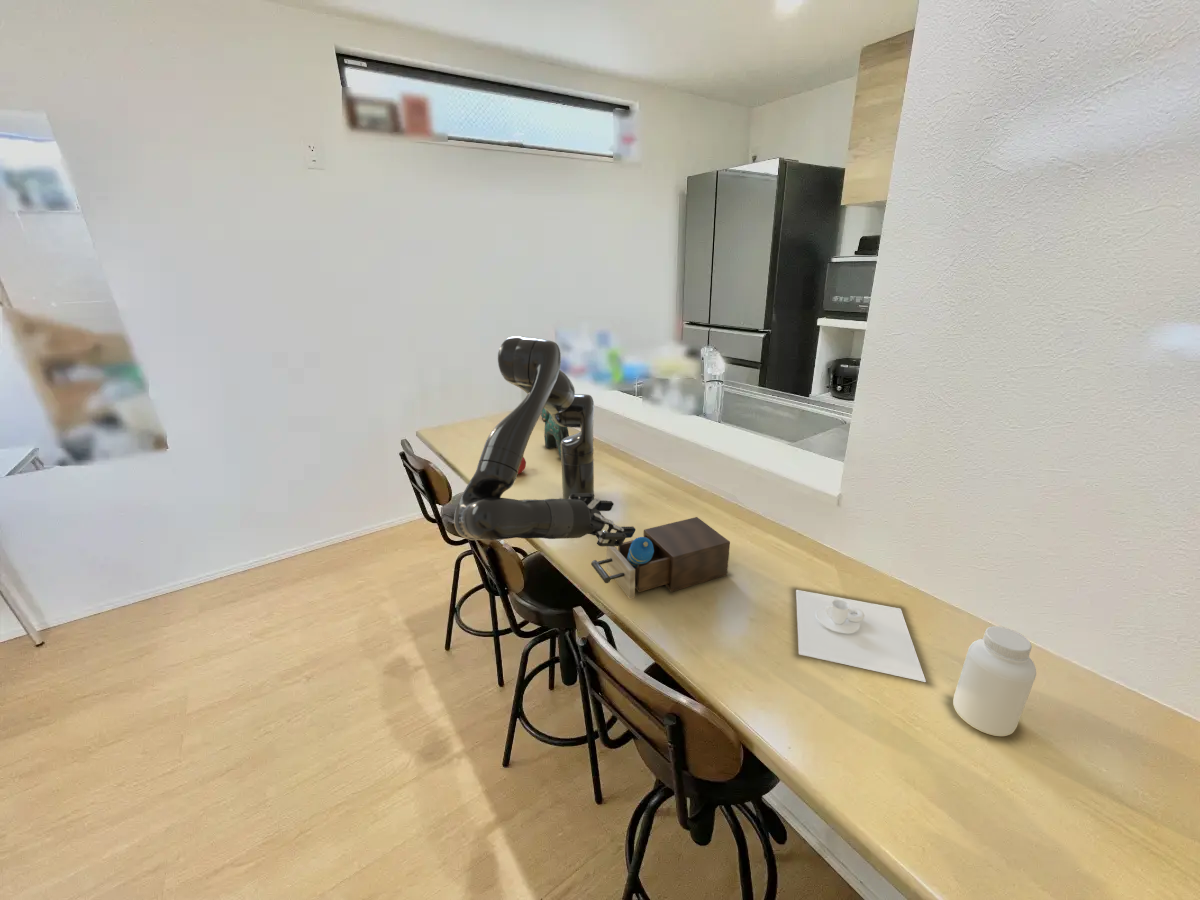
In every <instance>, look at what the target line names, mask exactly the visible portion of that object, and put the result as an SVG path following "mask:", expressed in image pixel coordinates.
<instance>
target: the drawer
mask: <svg viewBox="0 0 1200 900" xmlns="http://www.w3.org/2000/svg"><path fill="white" fill-rule="evenodd" d="M646 538H648V539H649V540H650V541H651V542H652V544H653V548H654V553H653V556H652V558H651V560H650V561H648V562H647V563H644V564H640V565H638V567H636V568H633V566H632V565H631V564H630V563H629V562H628V561H627V557H628V553H629V549H630V547H631V543H632V542H633V540H634V539H632V540H628V541H624V542H623V544H622V545H621V546H606V558H605V559H603V560H596V559H594V560H592V561H591V563H590V566H591V567H592V568H593V569H594V571H595V572H596V573H597V575H598V576H599V577H600V578H601V579H602V581H603V583H604V584H609V583H611V581H613V580H614V581H615V582H616V583H617V585H618V586H619V587H620V589H621V590H622V591H623V593H624V594H625V595H626V596H627V597H628V599H634V598H635V597H636V591H637V592H638V593H640V592H644V591H648V590H651V589H654V588H657V587H661V586H665V584H668V583H670V567H671V558H670V557H669V556H668V555H667V554H666V553H664V552H663V551H662V550H661V549H660V548H659V547H658V546H657V545H656V544H655V543H654V542H653V541H652V540H651V539H650V538H649V537H646ZM617 547H618V548H617ZM604 564H606V570H605V568H604V567H602V565H604ZM606 571H607V572H606ZM608 573H609V574H608Z"/></svg>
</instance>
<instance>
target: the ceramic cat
mask: <svg viewBox="0 0 1200 900" xmlns="http://www.w3.org/2000/svg"><path fill="white" fill-rule="evenodd" d="M540 420H541V421H542V422H543V423H544V434H543V436H544V438H543V439H544V447H545V448H547V449H554V448H557V446H556V442H557V445H558V449H557V451H558V457H559V460H560V461H561V441H562V440H563V439H564V438H566V437H568V436H570V433H569V427H562V426H559V425H558V424H557V423H556V422H555V421H554V419H553V418H552V416H551V414H550V413H549V412H548V411H547V410H546V409H543V411H542V413H541V415H540Z"/></svg>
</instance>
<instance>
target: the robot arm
mask: <svg viewBox="0 0 1200 900" xmlns="http://www.w3.org/2000/svg"><path fill="white" fill-rule="evenodd" d="M561 363H562V353H561V349H560V346H559V344H558V343H557V342H555V341H553V340H551V339H545V338H537V337H531V336H523V335H515V336H510V337H508V338H506V339H505V340H504V341H503V342H502V343H501V344H500V347H499V349H498V352H497V364H498V370H499V372H500V375H501V376H502V378H503V379H504V380H505V381H506V382H507V383H509V384H511V385H513V386H515V387H516V388H519V389H521V390H522V391H523V392H525V393H526V396H525V397H524V398H523V400H522V401H521V402H520V403H519V404H518V405H517V406H516V407H515V408H514V409H513V410H512V411H511V412H510V413H508V414H507V415H506V416H505V417H504V418H503V419H502V420H501V421H499V423H497V425H495V426H494V428H493V429H492V430H491V432H490V433H489V434H488V437H487V438H486V439H485V443H484V445H483V449H482V451H481V454H480V457H479V459H478V463H477V466H476V469H475V471H474V474H473V476H472V478H471V479H470V480H469V482H468V483H467V485H466V487H465V488H464V491H463V492H462V495H461V496H460V498H459V500H458V502H457V504H456V507H455V510H454V515H453V526H454V528H455V531H456V533H457V534H458V535H459V536H460V537H461V538H463V539H466V540H469V541H498V540H510V539H547V540H560V539H561V540H563V539H564V540H565V539H580V538H583V537H584V536H586V535H591V536H595V537H596V539H597V542H596V545H597V546H599V547H607V546H615V547H618V546H621V545H622V544H623V543H624V542H625V540H626V539H631V538H632V537H633V536H634V535H635V532H636V527H634V526H633V525H631V526H619V525H618V524H615V522H614V520H611V519H608V518H606V517H605V516H604V515H603V514H602V513H601V512H610V511H611V510H612V508H613V506H614V505H615V504H614V502H613V501H612V500H606V499H605V500H603V499H599V498H597V497H595V476H594V475H595V474H594V473H595V472H594V465H595V463H594V461H595V460H594V420H595V419H594V417H595V403H594V398H593V397H592V395H591V394H586V393H585V394H584V393H576V390H575V386H574V384H573V382H572V380H571V379H570V378H569V376H568V375H567V374H566V373H565V372H564V371H562V370H561ZM543 409H546V410H547V411H548V412H549V413H550V414H551V416H552V418H553V419H554V421H555V422H556V423H557V424H558V425H559V426H562V427H567V428H577V429H578V428H579V429H580V431H578V432H577V433H575V434H571V435H569V436H568V437H566V438H564V439H563V440H562V441H561V460H560V462H561V464H560V465H561V487H562V488H561V489H562V490H561V491H562V498H546V499H531V498H530V499H528V498H527V499H525V498H523V499H515V498H507V497H502V496H503V494H504V493H506V492H507V491H508V490H510V489H511V488H512V487H513V486H514V484H515V482H516V480H517V477H518V475H519V474H518V471H519V467H520V464H521V461H522V458H523V457H524V454H525V451H526V448H527V445H528V442H529V440H530V438H531V435H532V433H533V431H534V429H535V427H536V425H537V423H538V422H539V419H540V418H541V413H542V411H543ZM556 448H557V450H558V445H557V442H556ZM606 525H607V526H606ZM605 526H606V529H605V530H603V529H604V528H605ZM612 530H614V531H615V532H611V531H612Z"/></svg>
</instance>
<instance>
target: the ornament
mask: <svg viewBox="0 0 1200 900" xmlns="http://www.w3.org/2000/svg"><path fill="white" fill-rule="evenodd" d="M632 540H633V542H632V543H631V547H630V549H629V553H628V557H627V561H628V562H629V563H630V564H631V565H632V566H633V568H636V567H638V565H640V564H644V563H647V562H648V561H650V560H651V558H652V556H653V553H654V548H653V544H652V542H651V541H650V540H649V539H648V538H646V537H644V536H638V537H636V538H634V539H632Z"/></svg>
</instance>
